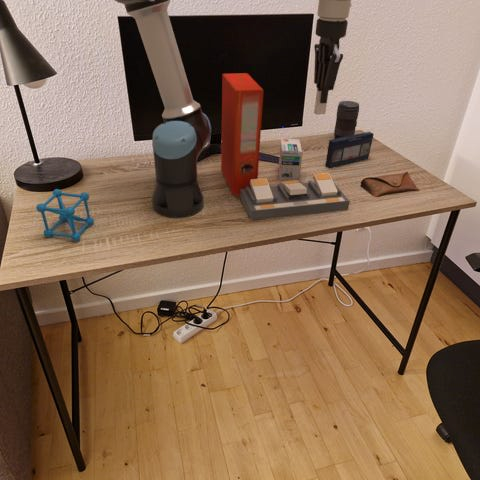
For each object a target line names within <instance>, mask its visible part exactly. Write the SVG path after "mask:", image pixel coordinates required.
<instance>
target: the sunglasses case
mask: <svg viewBox="0 0 480 480" xmlns="http://www.w3.org/2000/svg"><path fill="white" fill-rule="evenodd" d="M360 181H361V182H360V187H361V188H362V189H363V190H365V191H366V192H367V193H368V194H370V195H371V196H372V197H373V198H380V197H383V196H387V195H388V196H389V195H395V194H400V193H407V192H417V191H420V188H418V187H417V186H416V184H415V182H414V181H413V179H412V178H411V176H410V174H409V172H408V171H405V172H402V173H394V174H386V175H379V176H371V177H369V176H368V177H365V178H362V180H360Z"/></svg>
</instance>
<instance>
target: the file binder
mask: <svg viewBox="0 0 480 480" xmlns="http://www.w3.org/2000/svg"><path fill="white" fill-rule="evenodd" d="M221 77H222V78H221V79H222V81H221V82H222V83H221V84H222V86H221V88H222V89H221V90H222V91H221V105H222V106H221V147H220V151H221V153H220V155H221V157H220V161H221V163H220V166H221V167H220V171H221V173H222V175H223V177H224V180H225V182H226V184H227V186H228V188H229V191H230V192H231V194H232V195H233V196H240V189H246V187H249V188H251V185H250V180H251V179H259V176H258V175H259V161H260V148H261V147H260V145H261V133H262V132H261V130H262V117H263V105H264V104H263V103H264V92H265V91H264V89H263V88H262V87H261V86H260V85H259V84H258V82H256V81H255V80H254V78H252V76H251V75H250V74H249V73H248V72H247V73H246V72H244V73H242V72H241V73H233V72H232V73H222V76H221Z"/></svg>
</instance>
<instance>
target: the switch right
mask: <svg viewBox="0 0 480 480" xmlns="http://www.w3.org/2000/svg"><path fill="white" fill-rule="evenodd" d="M312 179H313V182H315V185H316V187H317V189H318V190H319V191H320V193H321V197H324V196H334V195H337V193H338V191H337V189H336V187H335V184H336V183H335V182H334V180H333V178H332V176H331V174H330V172H322V173H314V174H313V176H312ZM334 183H335V184H334Z"/></svg>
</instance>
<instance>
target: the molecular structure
mask: <svg viewBox="0 0 480 480" xmlns="http://www.w3.org/2000/svg"><path fill="white" fill-rule="evenodd" d="M62 196H64V197H65V196H66V197H73V198H79V200H78V201H76V202H75V203H74V205H72V206H67V207H65V203H64V202H63V200H62ZM55 198H56V199H57V204H58V208H56V207H49V206H48V205H49V204H50V203H51V202H52V201H53V200H55ZM89 199H90V195H89V193H88V192H85V191H83V192H82V193H80V194H77V193H71V192H63V191H62V190H61V189H60V188H59V189H58V188H55V189H54V190H53V191H52V196H51V197H50V198H48V199H47V200H45V202H44V203H42V202H41V203H38V204H37V205H36V211H37V212H38V213H40V214H41V217H42V221H43V224H44V228H45V230H43V236H44V237H45V238H48V239H49V238H51V237H53V236H57V237H64V238H70V239H71V240H72V241H73V242H78V241H80V240H81V234H82V233H83V232H84V231H85V229H86V228H87V227H88V226H92V225H94V223H95V219H94V218H93V217H91V216H90V215H91V214H90V210H89V206H88V201H89ZM82 202H83V204H84V208H85V213H86V218H85V217H81V216H78V215H75V213H76V212H75V211H76V210H75V209H76V208H77V207H78V206H79V205H80V204H82ZM45 212H48V213H49V212H50V213H54V214H57V215H59V216H58V221H57V222H56V223H55V224H53V226H51V228H50V227H49V225H48V222H47V217H46V213H45ZM66 222H67V223H68V225H69V227H70V230H71V234H67V233H61V232H54V230H55V229H56V228H57V227H59V226H60V224H61V223H66ZM75 222H84V223H85V224H84V225H83V226H82V227H81V228H80V229H79V230H78V231H77V230H76V225H75Z"/></svg>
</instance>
